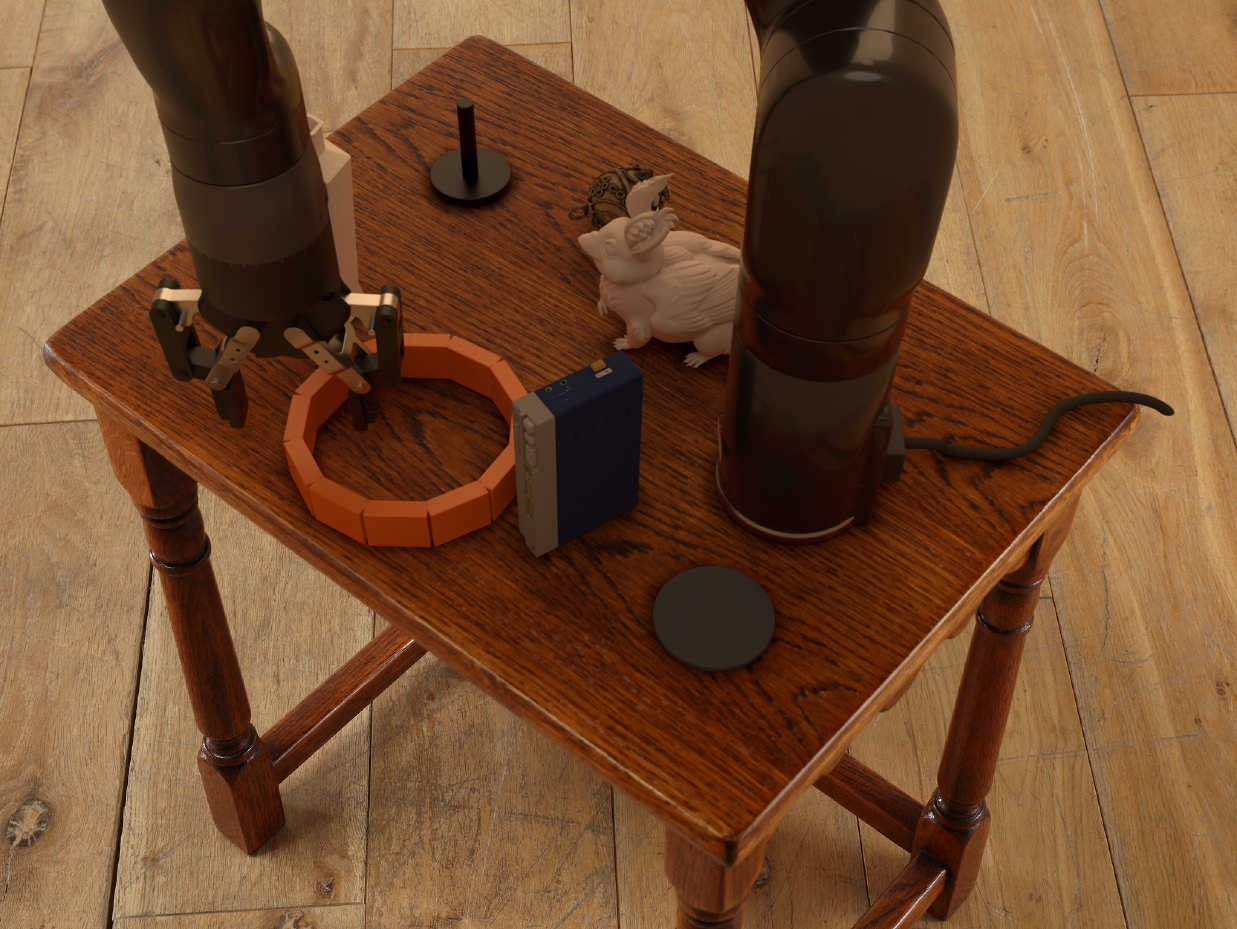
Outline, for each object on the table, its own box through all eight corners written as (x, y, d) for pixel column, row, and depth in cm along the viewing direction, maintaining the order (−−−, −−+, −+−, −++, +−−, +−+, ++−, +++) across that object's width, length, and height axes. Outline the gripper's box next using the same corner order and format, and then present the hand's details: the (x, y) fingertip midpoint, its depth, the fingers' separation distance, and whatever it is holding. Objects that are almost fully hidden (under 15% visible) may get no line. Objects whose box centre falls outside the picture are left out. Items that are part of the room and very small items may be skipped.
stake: (514, 155, 111) (510, 77, 105) (509, 208, 107) (504, 130, 102) (434, 154, 111) (426, 75, 105) (426, 207, 107) (417, 128, 102)
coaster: (771, 570, 87) (772, 567, 87) (777, 673, 83) (778, 669, 82) (652, 568, 87) (652, 564, 87) (652, 670, 82) (652, 666, 82)
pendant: (682, 239, 105) (686, 184, 101) (582, 266, 103) (582, 211, 99) (654, 195, 108) (656, 140, 104) (556, 221, 106) (555, 166, 102)
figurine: (575, 295, 101) (574, 147, 92) (791, 284, 102) (813, 137, 93) (583, 381, 96) (582, 234, 87) (811, 370, 97) (836, 223, 87)
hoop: (538, 368, 97) (537, 335, 95) (524, 550, 88) (522, 519, 85) (312, 362, 97) (306, 329, 95) (274, 544, 88) (266, 513, 85)
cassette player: (618, 480, 91) (622, 344, 82) (639, 505, 90) (646, 370, 81) (515, 532, 88) (507, 398, 79) (536, 559, 87) (530, 426, 78)
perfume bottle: (377, 282, 102) (351, 103, 90) (364, 327, 99) (335, 148, 88) (312, 277, 102) (277, 97, 91) (297, 322, 99) (259, 142, 88)
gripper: (100, 256, 75) (171, 464, 88) (383, 263, 75) (413, 470, 88) (134, 161, 80) (197, 371, 93) (400, 168, 80) (426, 377, 93)
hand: (302, 419), depth 90 cm, fingers open, 7 cm apart
